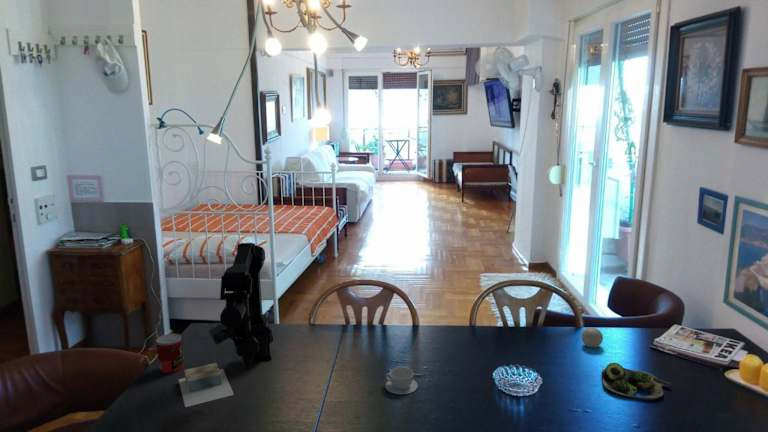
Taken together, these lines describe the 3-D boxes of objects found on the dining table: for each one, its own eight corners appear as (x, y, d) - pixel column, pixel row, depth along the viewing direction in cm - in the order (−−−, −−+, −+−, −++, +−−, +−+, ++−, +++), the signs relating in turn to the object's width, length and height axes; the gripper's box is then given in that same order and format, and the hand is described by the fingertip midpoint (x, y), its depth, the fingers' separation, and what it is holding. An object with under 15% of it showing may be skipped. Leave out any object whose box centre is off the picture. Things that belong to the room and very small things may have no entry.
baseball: (606, 346, 191) (608, 329, 190) (593, 352, 187) (595, 334, 186) (590, 339, 197) (591, 322, 195) (577, 345, 193) (578, 327, 191)
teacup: (421, 381, 172) (421, 367, 171) (412, 398, 163) (412, 383, 162) (391, 376, 175) (390, 363, 174) (380, 392, 166) (380, 378, 165)
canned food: (176, 375, 179) (172, 344, 177) (154, 373, 181) (150, 342, 178) (189, 364, 186) (185, 334, 184) (168, 362, 188) (164, 332, 185)
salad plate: (665, 376, 172) (667, 362, 171) (676, 407, 155) (678, 392, 154) (599, 368, 177) (600, 355, 176) (603, 397, 161) (604, 382, 160)
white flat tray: (223, 369, 182) (222, 368, 182) (234, 395, 166) (233, 394, 166) (178, 380, 176) (178, 379, 176) (185, 408, 160) (185, 407, 160)
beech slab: (222, 383, 172) (217, 372, 180) (221, 373, 172) (216, 362, 179) (188, 392, 168) (185, 380, 175) (187, 381, 167) (184, 370, 175)
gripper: (205, 307, 162) (210, 355, 166) (215, 330, 146) (221, 384, 150) (242, 300, 167) (246, 347, 171) (257, 322, 151) (261, 374, 154)
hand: (243, 362), depth 161 cm, fingers open, 9 cm apart
